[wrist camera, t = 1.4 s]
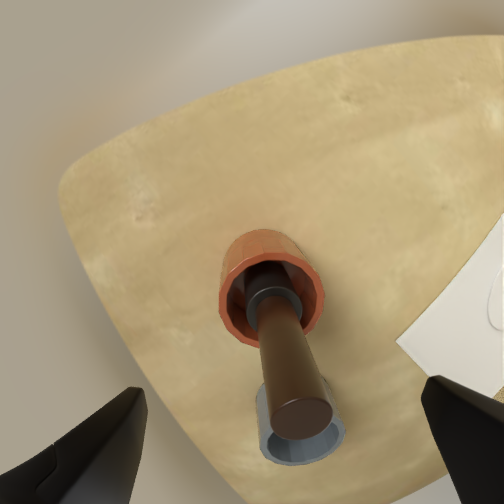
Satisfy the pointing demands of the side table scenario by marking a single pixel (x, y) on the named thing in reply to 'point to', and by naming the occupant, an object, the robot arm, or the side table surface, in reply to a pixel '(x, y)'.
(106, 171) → the side table surface
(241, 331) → the holder
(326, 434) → the cup
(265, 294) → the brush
